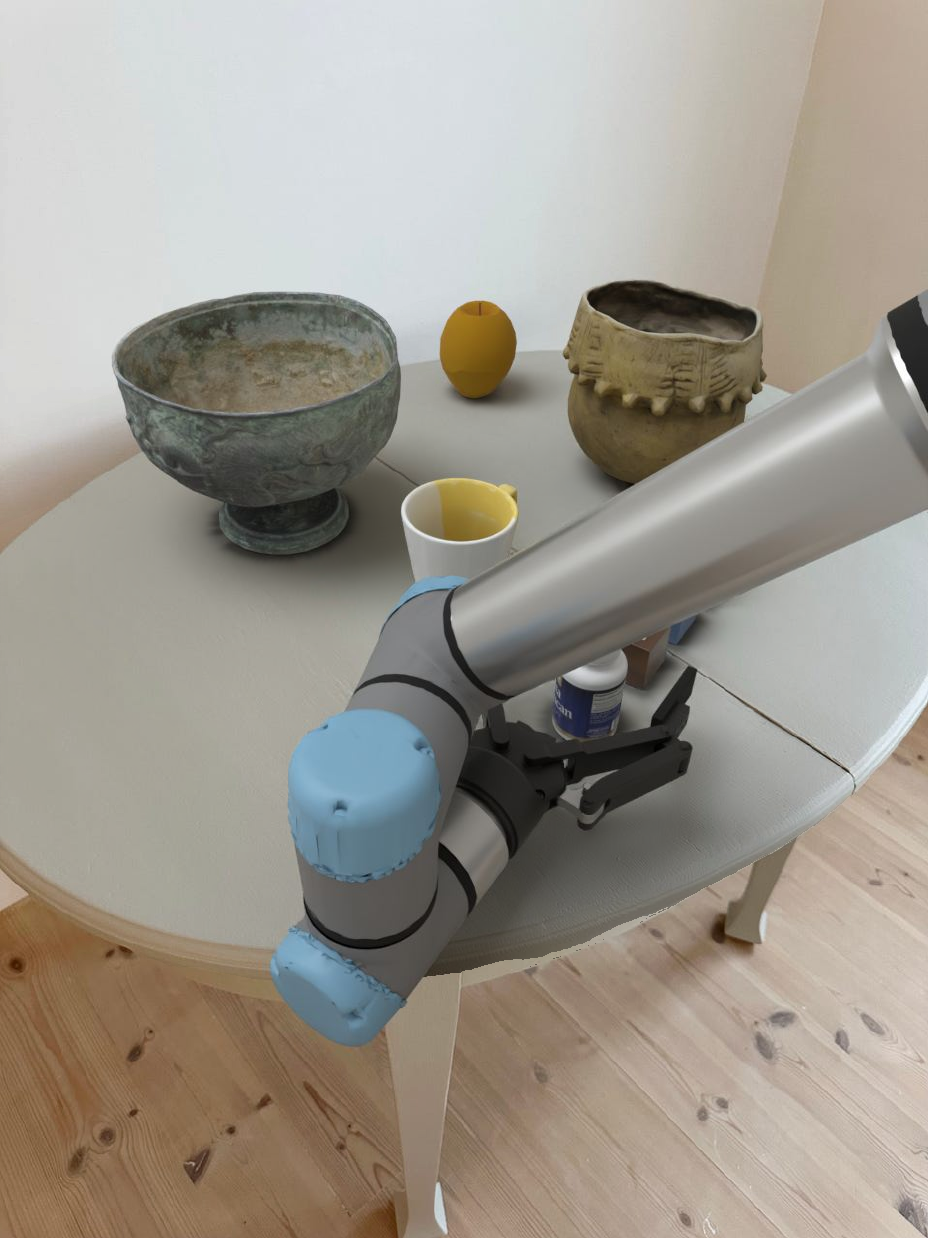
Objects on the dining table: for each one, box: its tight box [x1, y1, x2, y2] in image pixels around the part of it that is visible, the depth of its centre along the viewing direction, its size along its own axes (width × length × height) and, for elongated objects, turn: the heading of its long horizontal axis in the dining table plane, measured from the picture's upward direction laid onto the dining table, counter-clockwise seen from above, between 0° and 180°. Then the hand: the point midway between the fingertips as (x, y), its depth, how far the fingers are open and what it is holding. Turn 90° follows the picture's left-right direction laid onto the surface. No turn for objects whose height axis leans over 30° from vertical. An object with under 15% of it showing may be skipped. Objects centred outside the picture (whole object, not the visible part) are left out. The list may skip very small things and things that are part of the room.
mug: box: [400, 477, 519, 584], centre depth 88 cm, size 14×10×10 cm
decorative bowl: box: [111, 291, 402, 555], centre depth 94 cm, size 26×26×20 cm
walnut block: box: [622, 626, 671, 691], centre depth 82 cm, size 4×4×5 cm
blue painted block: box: [668, 614, 698, 646], centre depth 87 cm, size 4×4×5 cm
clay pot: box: [562, 278, 768, 485], centre depth 102 cm, size 21×21×20 cm
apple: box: [439, 300, 518, 399], centre depth 119 cm, size 10×10×12 cm
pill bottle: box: [551, 649, 628, 742], centre depth 75 cm, size 5×5×10 cm
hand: (611, 646), depth 77 cm, fingers open, 13 cm apart
